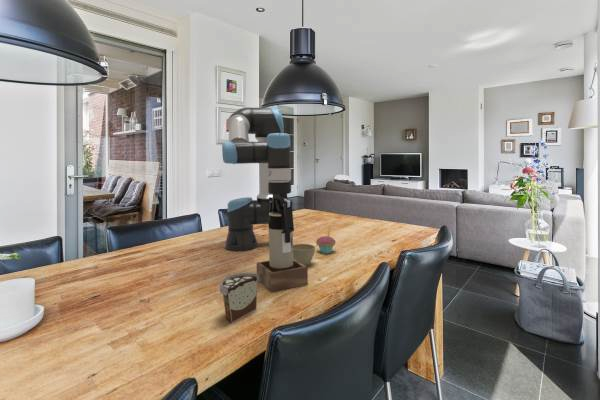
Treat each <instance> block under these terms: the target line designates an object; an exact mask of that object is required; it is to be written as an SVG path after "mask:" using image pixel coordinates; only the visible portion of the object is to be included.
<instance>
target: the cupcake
mask: <svg viewBox="0 0 600 400" xmlns="http://www.w3.org/2000/svg"><path fill="white" fill-rule="evenodd" d="M330 231H331V226H329V227H328V232H327V236H325V235H323V236H320V237H319V238H317V239H316V240H315V241H316V242H315V243H316V245H317V246H318V248H319V251H320V253H321V254H331V253H332V251H333V247H334V246H335V245H336V240H335V238H333V237H331V236H330Z"/></svg>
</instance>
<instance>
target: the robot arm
mask: <svg viewBox="0 0 600 400" xmlns="http://www.w3.org/2000/svg"><path fill="white" fill-rule="evenodd" d="M284 126H285V125H284V119H283V114H282V111H281V110H280V108H277V107H270V106H269V107H249V106H247V107H243V108H239V109H238V110H235V111H234V112H232V114H230V116H229V117H228V119H227V122H226V128H227V131H228V141H224V142H223V143H222V146H221V147H222V148H221V150H222V162H223V164H224V163H225V164H232V165H235V164H236V165H237V164H238V165H240V164H241V165H242V164H258V166H259V167H258V168H259V169H258V171H259V172H258V173H259V193H258V194H257V195H256V199H254V200H253V198H252V197H250V196H247V197H239V198H235V199H232V200H230V201H228V203H227V210H226V212H227V225H228V228H227V229H228V233H227V236H226V239H225V243H224V245H225V246H224V248H225V249H226V250H229V251H233V252H234V251H235V252H236V251H238V252H239V251H241V252H243V251H250V250H253V249H256V248H257V247H258V241H257V236H256V234H255V232H254V225H255V226H256V225H268V223H269V221H270V215H269V213H271V212H278V213H280V214H281V223H282V228H283V231H282V232H281V233H282V253H287V252H291V236H290V233H291V232H294V231H295V226H294V214H293V200H290V199H289V198H288V194H291V193H292V183H291V180H292V167H291V137H290V134H289V133H286V132H285V130H284ZM284 132H285V133H284ZM249 135H254V139H255V140H256V141H250V140H249V139H250V138H249Z"/></svg>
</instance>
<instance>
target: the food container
mask: <svg viewBox="0 0 600 400" xmlns="http://www.w3.org/2000/svg"><path fill="white" fill-rule="evenodd" d="M258 282H260V281H259V276H258V274H257V273H254V272H241V273H235V274H231V275H228V276H226V277H224V278H222V280H221V282H220V287H219V292H220V294H221V295H222V297H223V302H224V303H223V304H224V311H225V318H226V321H227V322H228V323H229V324H234V323H235V322H238V321H239V320H241V319H242V318H245V317H246V316H248V315H250V314H252V313H253V312H255V311H256V310H257V307H258V306H257V305H258Z"/></svg>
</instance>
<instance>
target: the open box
mask: <svg viewBox="0 0 600 400" xmlns="http://www.w3.org/2000/svg"><path fill="white" fill-rule="evenodd" d="M308 270H309V269H308V265H307V266H305V265H303V264H301V263H300V262H298V261H296V260H295V259H293V265H292V266H291V267H289V268H285V269H276V268H273V267H271V266H270V263H269V260H264V261H258V262H256V274H258V276H259V281H258V282H260V283H261V284H262V285H263V286H264V287H265V288H266V289H267V290H268V291H270V292H271V293H274V292H279V291H284V290H287V289H292V288H298V287H302V286H308V283H309V281H308V280H309V279H308V276H309V274H308Z"/></svg>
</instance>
